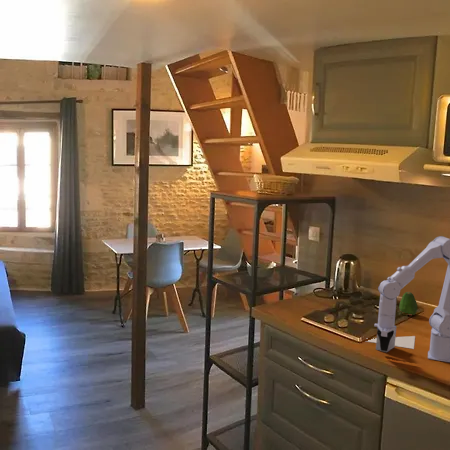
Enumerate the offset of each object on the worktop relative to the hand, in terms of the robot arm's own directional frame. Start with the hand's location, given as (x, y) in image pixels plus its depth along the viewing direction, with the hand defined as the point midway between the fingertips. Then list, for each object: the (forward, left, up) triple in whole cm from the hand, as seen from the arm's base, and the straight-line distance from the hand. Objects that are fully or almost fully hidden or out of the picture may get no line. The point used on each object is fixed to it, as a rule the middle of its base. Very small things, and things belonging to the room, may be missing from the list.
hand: (384, 350), depth 183 cm
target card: (0, -23, -2) cm, 23 cm away
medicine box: (0, -8, -2) cm, 8 cm away
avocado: (-6, -59, -2) cm, 59 cm away
